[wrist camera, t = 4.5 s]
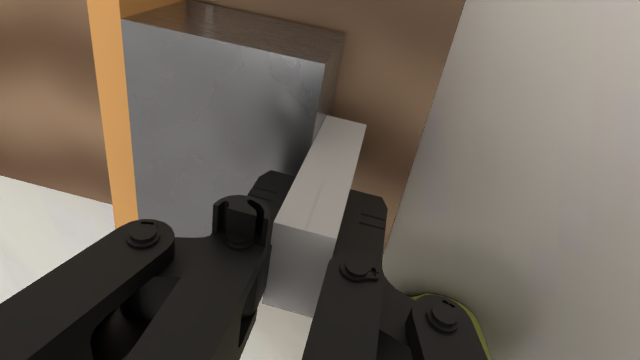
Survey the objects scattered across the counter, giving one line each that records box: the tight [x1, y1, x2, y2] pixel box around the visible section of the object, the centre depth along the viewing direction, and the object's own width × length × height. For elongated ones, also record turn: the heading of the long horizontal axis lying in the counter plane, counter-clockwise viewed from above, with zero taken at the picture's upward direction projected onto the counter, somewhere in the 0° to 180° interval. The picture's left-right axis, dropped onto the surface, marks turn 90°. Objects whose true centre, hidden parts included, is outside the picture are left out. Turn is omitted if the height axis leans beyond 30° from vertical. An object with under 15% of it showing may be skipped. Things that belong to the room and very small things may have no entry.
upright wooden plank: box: [87, 0, 183, 229], centre depth 16 cm, size 13×1×4 cm, turn 171°
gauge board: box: [0, 0, 466, 253], centre depth 17 cm, size 14×24×6 cm, turn 81°
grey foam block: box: [121, 0, 346, 238], centre depth 15 cm, size 8×6×4 cm
